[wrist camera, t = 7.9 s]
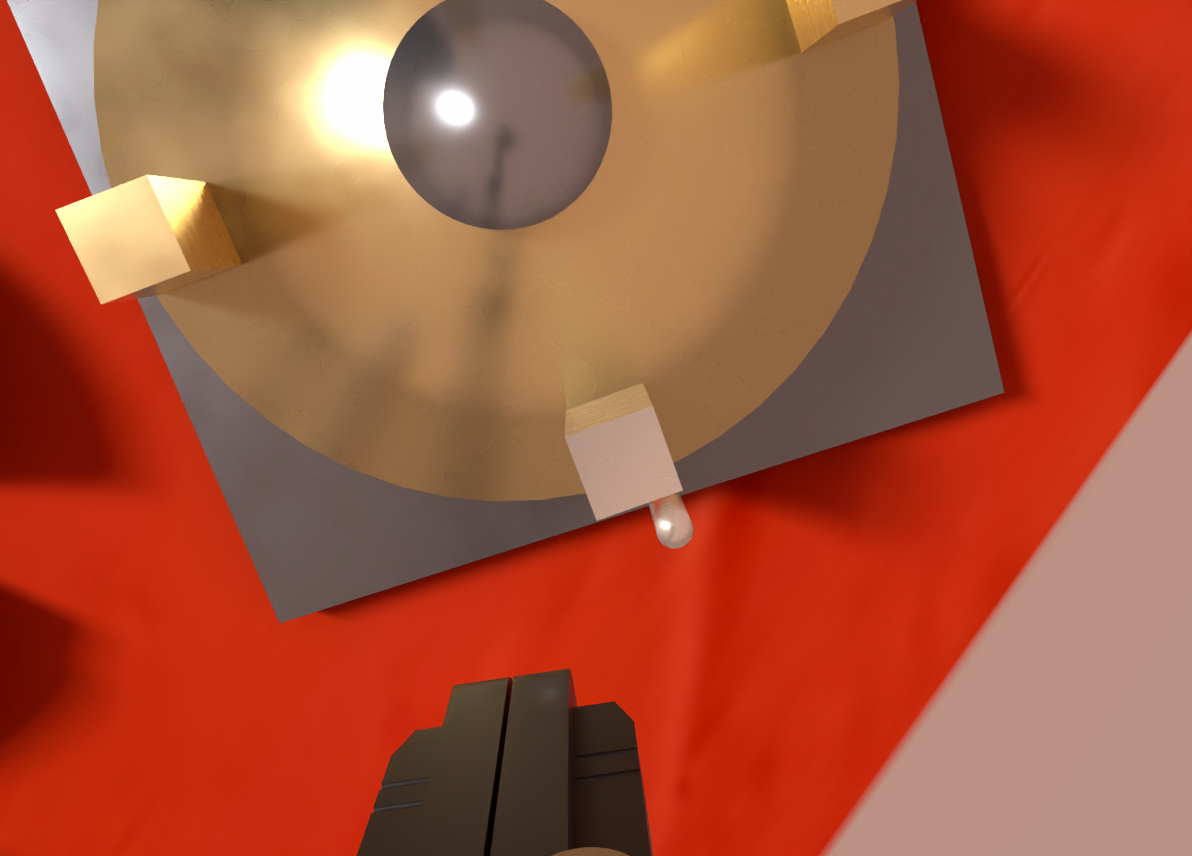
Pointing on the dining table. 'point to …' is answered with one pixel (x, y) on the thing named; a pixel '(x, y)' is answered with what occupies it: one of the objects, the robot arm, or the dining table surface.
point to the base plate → (485, 528)
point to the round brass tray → (494, 218)
